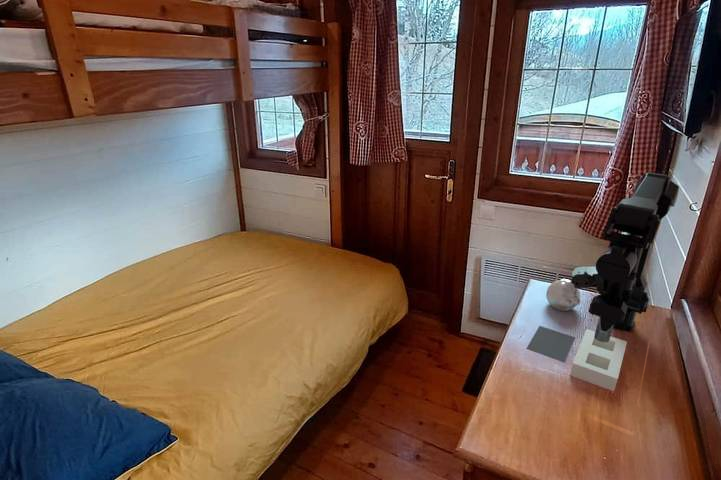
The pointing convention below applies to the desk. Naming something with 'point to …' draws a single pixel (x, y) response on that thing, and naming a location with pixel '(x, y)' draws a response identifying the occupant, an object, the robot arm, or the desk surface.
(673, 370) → the desk surface
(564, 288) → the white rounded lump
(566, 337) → the mat
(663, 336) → the desk surface
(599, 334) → the peg
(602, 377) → the hole block
